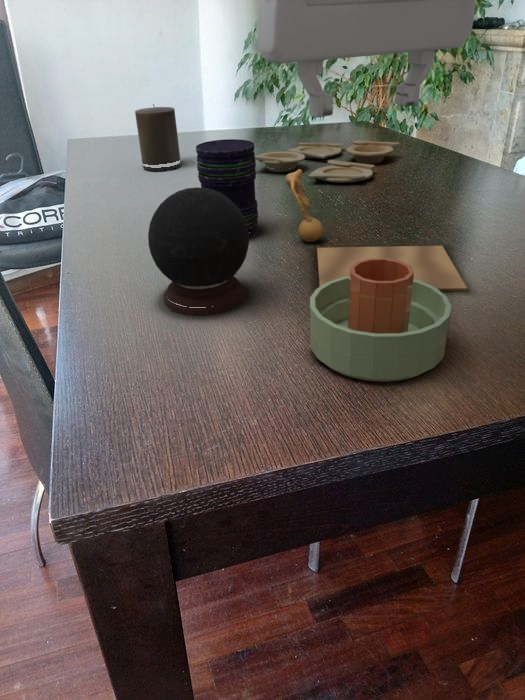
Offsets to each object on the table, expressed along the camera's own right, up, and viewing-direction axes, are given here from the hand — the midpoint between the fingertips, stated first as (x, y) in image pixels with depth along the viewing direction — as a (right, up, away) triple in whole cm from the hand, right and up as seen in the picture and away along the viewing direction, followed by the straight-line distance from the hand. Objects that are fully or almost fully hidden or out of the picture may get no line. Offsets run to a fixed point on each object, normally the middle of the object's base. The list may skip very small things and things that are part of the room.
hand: (365, 110), depth 53 cm
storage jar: (-15, -2, +48) cm, 51 cm away
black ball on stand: (-18, -15, +26) cm, 35 cm away
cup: (+3, -21, +12) cm, 25 cm away
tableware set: (+6, +23, +87) cm, 90 cm away
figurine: (-2, -4, +43) cm, 43 cm away
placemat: (+9, -10, +32) cm, 35 cm away
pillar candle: (-35, +24, +93) cm, 102 cm away
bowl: (+4, -22, +13) cm, 26 cm away
